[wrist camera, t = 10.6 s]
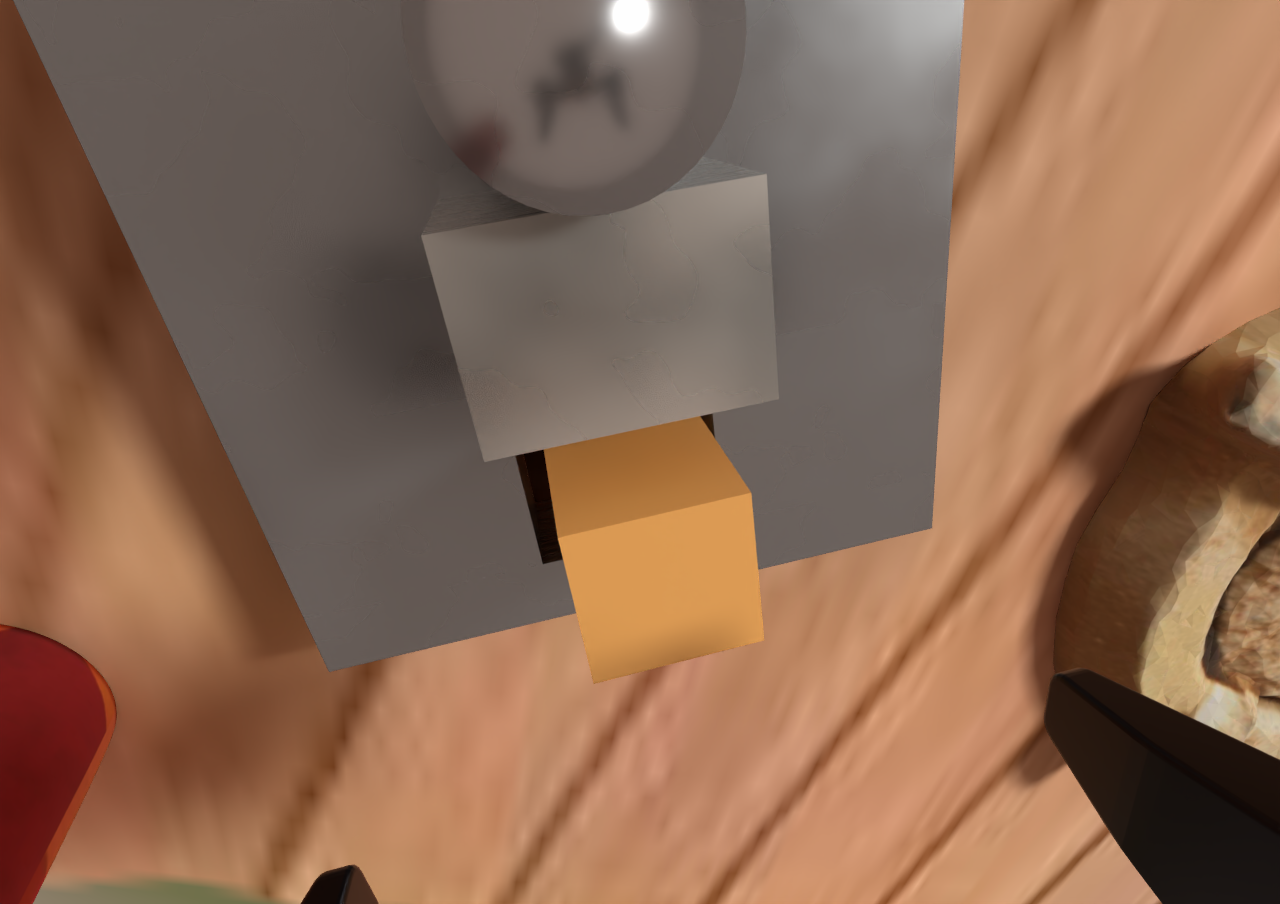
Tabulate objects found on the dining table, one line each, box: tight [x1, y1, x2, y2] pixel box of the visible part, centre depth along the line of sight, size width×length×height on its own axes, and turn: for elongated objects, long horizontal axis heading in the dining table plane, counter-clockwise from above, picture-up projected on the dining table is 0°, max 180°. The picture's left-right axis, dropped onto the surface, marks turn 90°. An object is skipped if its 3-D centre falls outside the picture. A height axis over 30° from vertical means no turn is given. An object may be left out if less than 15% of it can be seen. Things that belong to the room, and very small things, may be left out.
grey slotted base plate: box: [13, 0, 964, 672], centre depth 14 cm, size 16×16×8 cm
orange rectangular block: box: [544, 416, 764, 684], centre depth 16 cm, size 3×3×8 cm
